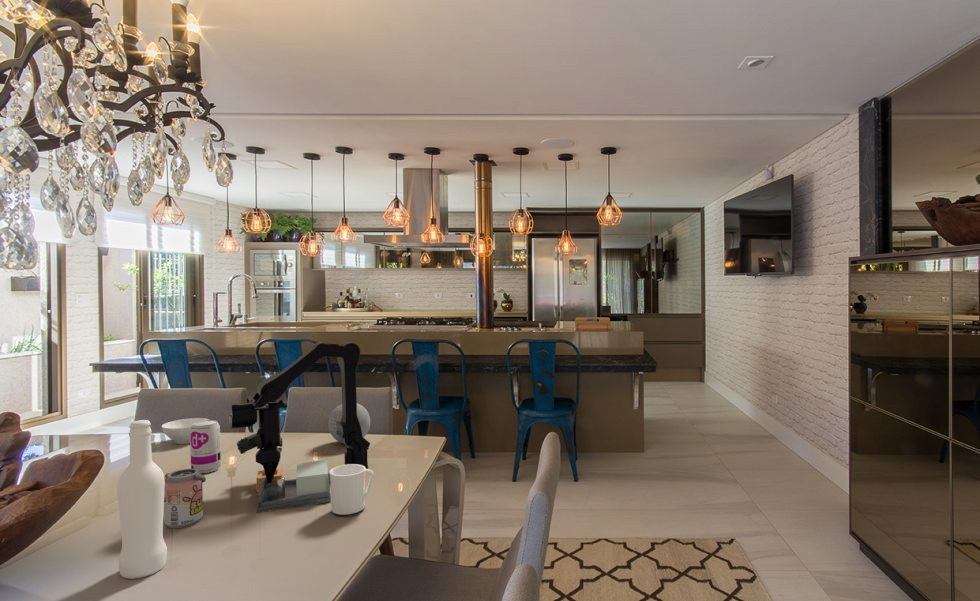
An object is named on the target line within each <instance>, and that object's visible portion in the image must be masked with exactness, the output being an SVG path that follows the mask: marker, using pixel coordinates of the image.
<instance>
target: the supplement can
mask: <svg viewBox="0 0 980 601" xmlns="http://www.w3.org/2000/svg"><path fill="white" fill-rule="evenodd" d="M189 444H190V445H189V446H190V469H197V470H198V471H199V473H200V474H201V475H203V474H202V473H206V474H210V473H209V472H211V473H214V472H216V471H218V470H219V469H218V468H221V465H222V464H221V462H222V461H221V459H222V458H221V426H220V424H219V423H218V420H214V419H213V420H211V419H209V420H207V421H200V422H196V423H193V424H192V427H191V429H190V443H189ZM217 469H218V470H217ZM213 471H214V472H213Z"/></svg>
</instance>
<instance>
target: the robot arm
mask: <svg viewBox="0 0 980 601" xmlns="http://www.w3.org/2000/svg"><path fill="white" fill-rule="evenodd" d="M323 357H334V358H336V360H337V363H338V366H339V369H340V373H341V376H340V377H341V378H340V379H341V404H342V418H341V421H337V422H336V426H337V432H336V434H337V435H338V437H339V439H340V440H341V441H342V442H344V443H343V444H344V446H345V447H346V449H345V451H346V452H344V456H343V457H344V459H343V461H344V465H347V464H358V465H363V466H365V468H366V469H369V465H368V464H369V463H368V450H369V448H370V446H371V442H370V441H369V440H368V439H366V438H365V437H364V438H363V437H362V436H363V435H362V430H361V425H360V423H359V420H358V417H357V401H358V400H357V368H358V366H359V364H360V359H361V358H360V357H361V348H360V346H359V345H357V344H356V343H354V342H349V341H342V342H340V343H324V342H320V341H319V342H315V343H314V344H313V346H312V347H311V348H309V349H308V350H307V351H306V352H304V353H303V354H302V355H301V356H299V357H298V358H297V359H296V360H294V361H293V362H292V363H290V364H289V365H288V366H287V367H285V368H284V369H283V370H282V371H279V372H278V373H276V374H273V375H271V376H269V377H267V378H266V379H264V380H262V381H260V383H258V385H257V389H256V393H255V394H254V395H253V396H252V398H251V399H250V400H249V402H246V403H231V404H230V410H229V414H228V420H229V422H228V423H229V430H234V429H236V430H237V429H242V428H250V427H254V425H255V424H256V423H257V422H258V429H257V431H256V433H254V434H251V435H248V436H245V437H243V438H241V439H240V440H237V442H236V446H237V450H238V451H239V453H240V454H241V455H242V454H243V455H244V454H245V453H247V452H248V451H250V450H252V449H255V448H256V449H257V451H256V453H255V463H257V464H259V465H261V466H262V467H263V470H264V472H265V475H266V479H267V482H268V483H269V482H272V479H273V477H274V474H275V471H276V469H278V466H279V463H280V461H281V453H282V451H283V450H282V449H283V448H282V447H283V438H282V437H281V427H282V426H281V409H282V408H283V409H284V408H287V407H288V403H287V404H286V403H285V402H284V400H283V399H282V398H281V397H282V395H283V394H284V393H285V392H286V391H287V389H288V388H290V385H291V384H292V383H293V382H294V381H295V380H296V379H297V378H299V377H300V376H301V375H302V374H304V373H305V372H306V371H307V370H308V369H309V368H311V367H312V366H313V365H315V364H316V363H317V362H318V361H319V360H321V359H322V358H323Z"/></svg>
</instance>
